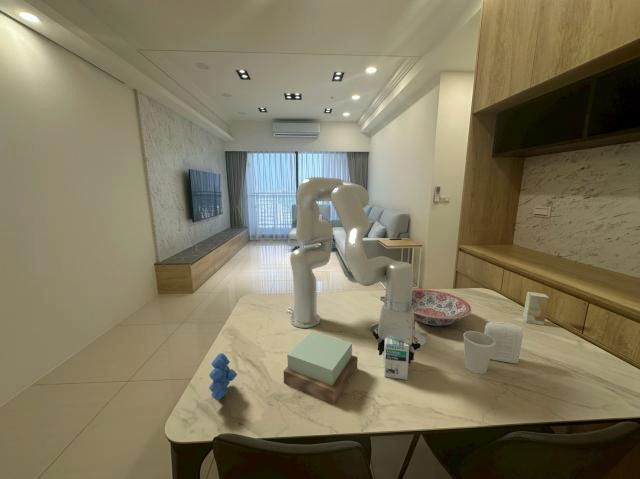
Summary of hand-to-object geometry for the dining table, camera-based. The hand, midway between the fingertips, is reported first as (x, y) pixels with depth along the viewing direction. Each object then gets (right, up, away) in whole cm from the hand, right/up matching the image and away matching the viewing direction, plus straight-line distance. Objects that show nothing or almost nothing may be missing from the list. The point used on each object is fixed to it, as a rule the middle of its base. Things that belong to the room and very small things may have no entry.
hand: (395, 356), depth 80 cm
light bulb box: (0, -4, +1) cm, 4 cm away
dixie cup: (+25, -4, +1) cm, 25 cm away
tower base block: (-23, -5, -3) cm, 23 cm away
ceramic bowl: (+24, +2, +31) cm, 40 cm away
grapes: (-48, -6, -11) cm, 50 cm away
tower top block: (-23, 0, -3) cm, 23 cm away
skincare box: (+66, +1, +29) cm, 72 cm away
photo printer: (+35, -3, +5) cm, 36 cm away
